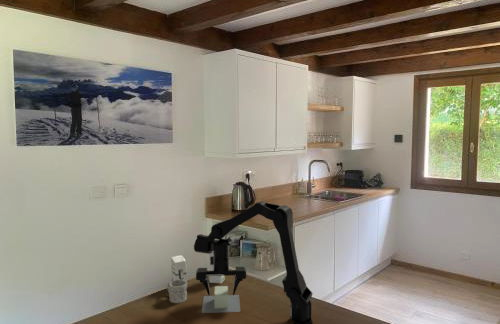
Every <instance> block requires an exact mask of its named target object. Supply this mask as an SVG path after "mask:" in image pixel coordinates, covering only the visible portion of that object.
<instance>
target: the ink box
mask: <svg viewBox="0 0 500 324" xmlns="http://www.w3.org/2000/svg"><path fill="white" fill-rule="evenodd" d="M170 263H171V265H170V266H171V281H174V280H184V281H186V282H187V283H188V273H187V272H188V270H187V260H186V259H185V257H184V256H183V255H174V256H171V257H170Z"/></svg>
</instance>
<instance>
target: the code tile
mask: <svg viewBox="0 0 500 324" xmlns="http://www.w3.org/2000/svg"><path fill="white" fill-rule="evenodd" d="M236 312H237V313H240V312H241V303H240V294H234V295H233V294H228V308H217V309H214V295H210V296H209V295H203V301H202V308H201V314H213V313H215V314H216V313H236Z"/></svg>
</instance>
